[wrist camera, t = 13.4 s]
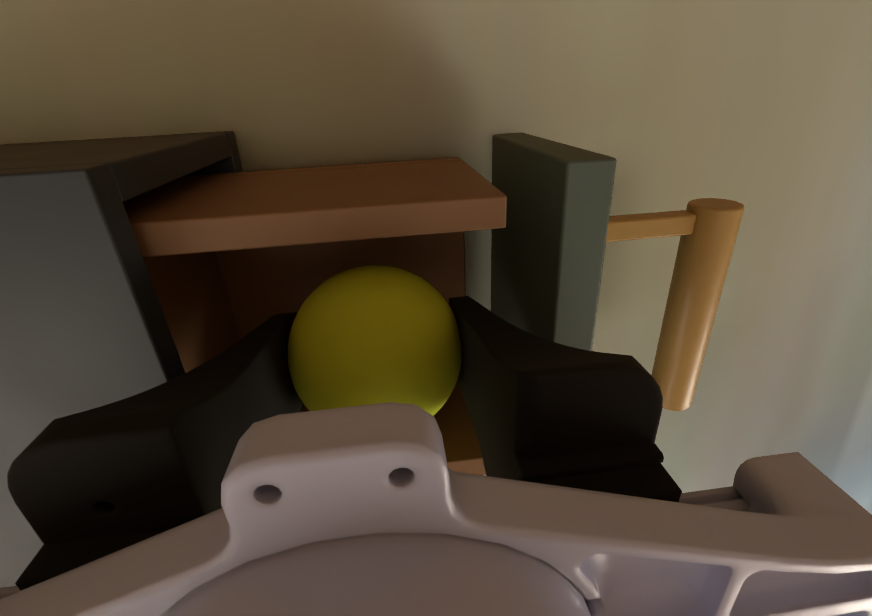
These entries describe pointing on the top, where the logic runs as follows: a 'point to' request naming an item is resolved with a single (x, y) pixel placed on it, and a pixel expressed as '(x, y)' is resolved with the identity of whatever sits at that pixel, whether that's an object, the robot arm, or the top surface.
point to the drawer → (427, 251)
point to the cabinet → (80, 289)
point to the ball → (374, 342)
